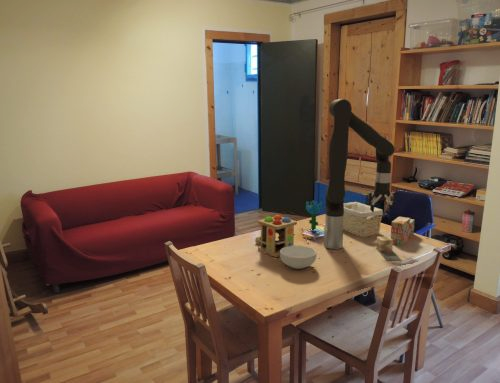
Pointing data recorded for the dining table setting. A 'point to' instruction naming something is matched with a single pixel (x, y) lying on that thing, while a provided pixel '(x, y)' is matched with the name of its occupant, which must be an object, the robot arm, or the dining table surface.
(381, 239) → the cube
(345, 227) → the storage basket
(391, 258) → the mat
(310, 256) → the cereal bowl
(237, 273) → the dining table surface
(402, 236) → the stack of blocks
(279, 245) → the pounding bench toy
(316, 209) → the toy flower
